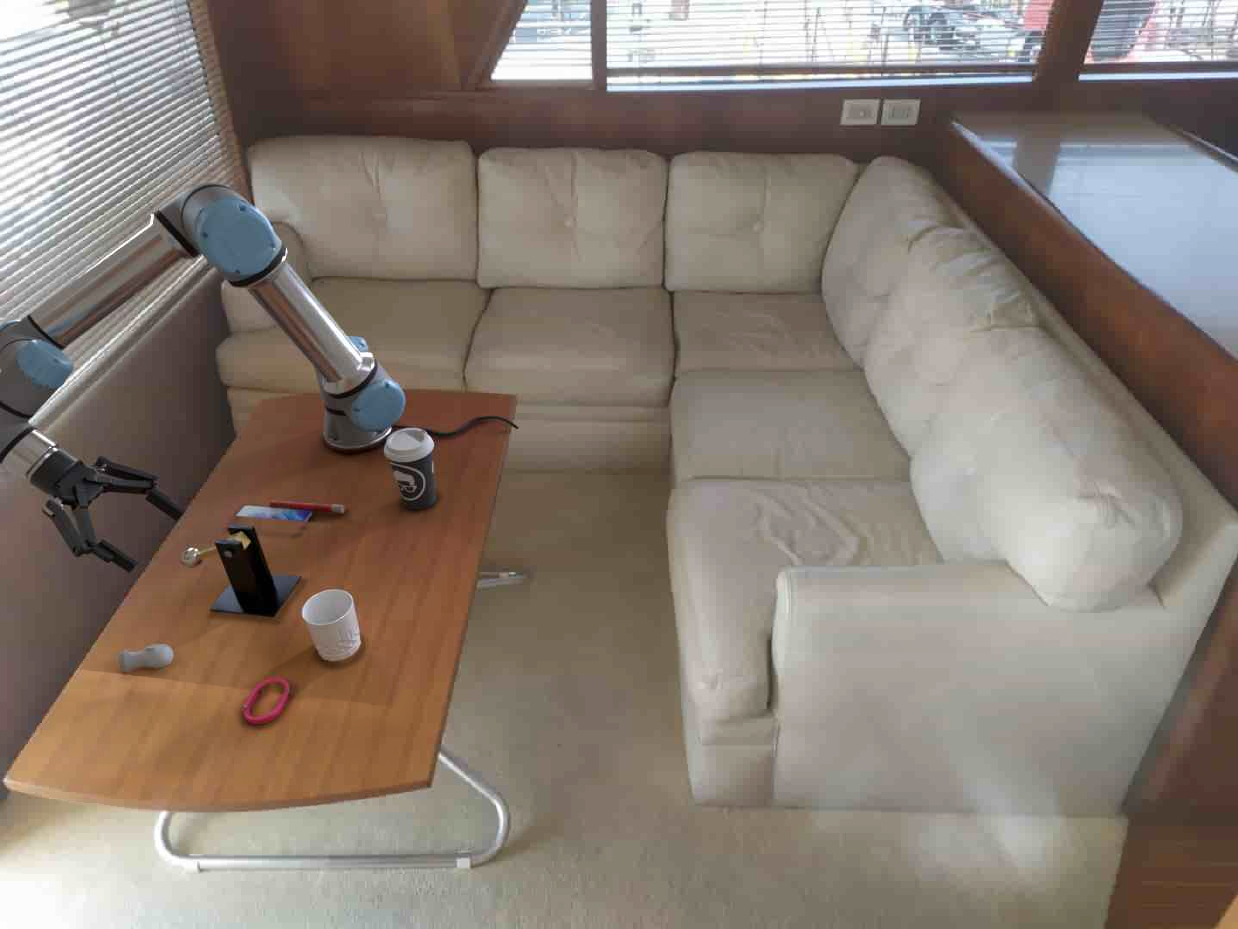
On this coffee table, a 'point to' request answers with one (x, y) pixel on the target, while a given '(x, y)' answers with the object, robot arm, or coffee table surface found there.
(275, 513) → the smartphone
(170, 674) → the coffee table surface
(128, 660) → the smooth white sculpture
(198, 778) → the coffee table surface
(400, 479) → the coffee cup
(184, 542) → the coffee table surface
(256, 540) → the bracket
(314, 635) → the white cup
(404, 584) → the coffee table surface
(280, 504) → the red road flare
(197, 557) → the silver ball pendulum
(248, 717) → the fitness band
